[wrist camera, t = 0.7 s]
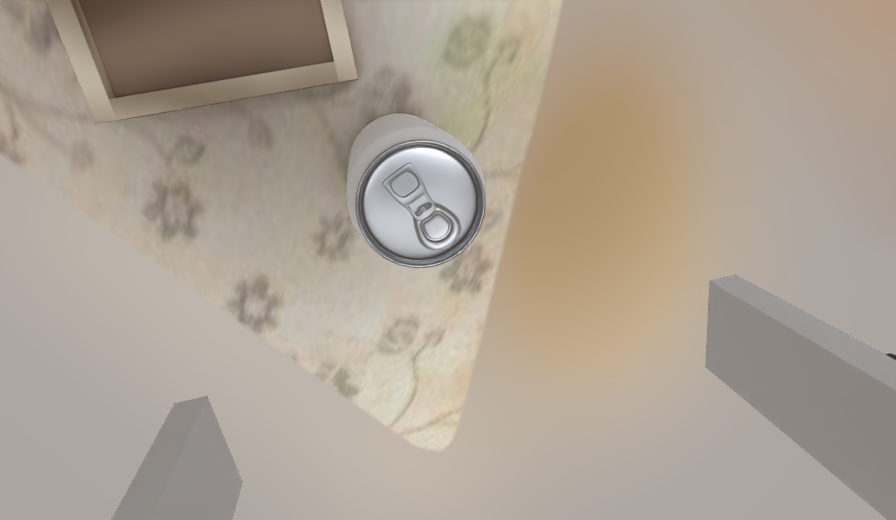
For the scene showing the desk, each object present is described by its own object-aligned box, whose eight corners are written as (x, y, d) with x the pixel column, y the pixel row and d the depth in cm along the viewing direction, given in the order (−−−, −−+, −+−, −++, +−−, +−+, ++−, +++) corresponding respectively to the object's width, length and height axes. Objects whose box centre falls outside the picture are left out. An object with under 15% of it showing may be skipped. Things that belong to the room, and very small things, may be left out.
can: (390, 231, 34) (406, 304, 23) (327, 153, 31) (311, 192, 20) (467, 174, 33) (522, 219, 22) (410, 90, 31) (439, 95, 20)
